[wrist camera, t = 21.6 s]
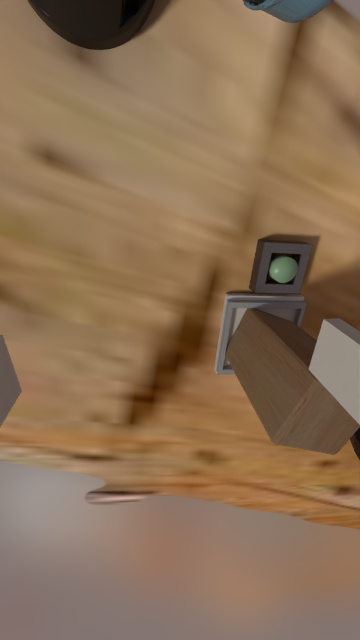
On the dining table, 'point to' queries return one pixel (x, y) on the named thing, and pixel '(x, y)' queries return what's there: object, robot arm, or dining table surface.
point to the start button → (282, 268)
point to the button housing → (263, 259)
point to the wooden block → (287, 384)
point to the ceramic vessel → (356, 442)
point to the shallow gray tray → (238, 303)
